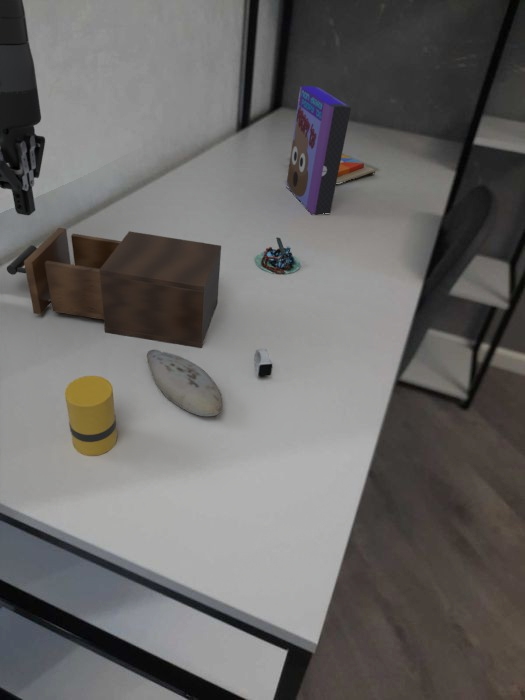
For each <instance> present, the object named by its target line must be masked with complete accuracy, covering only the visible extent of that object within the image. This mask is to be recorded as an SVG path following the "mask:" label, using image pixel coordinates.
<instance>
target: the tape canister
mask: <svg viewBox="0 0 525 700" xmlns="http://www.w3.org/2000/svg"><path fill="white" fill-rule="evenodd" d="M64 398H65V404H66V409H67V410H66V411H67V417H68V424H69V430H70V433H71V440H72V445H73V448H74V450H76V451H77V452H78V453H79V454H81V455H84V456H88V457H89V456H90V457H96V456H101V455H104V454H105V453H108V452H109V451H111V450H112V449H113V448H114V446H115V445H116V443H117V439H118V433H117V418H116V417H117V416H116V411H115V400H114V399H115V398H114V388H113V385H112V383H111V382H110V381H109V380H108V379H106V378H104V377H102V376H98V375H86V376H81V377H78V378H76V379H74V380H72V381H71V382H70V383H69V384H68V385H67V386H66V388H65V390H64Z"/></svg>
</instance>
